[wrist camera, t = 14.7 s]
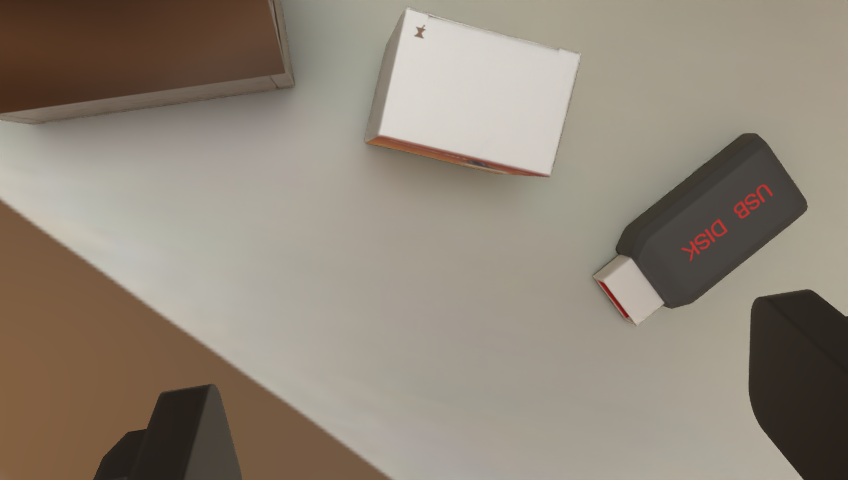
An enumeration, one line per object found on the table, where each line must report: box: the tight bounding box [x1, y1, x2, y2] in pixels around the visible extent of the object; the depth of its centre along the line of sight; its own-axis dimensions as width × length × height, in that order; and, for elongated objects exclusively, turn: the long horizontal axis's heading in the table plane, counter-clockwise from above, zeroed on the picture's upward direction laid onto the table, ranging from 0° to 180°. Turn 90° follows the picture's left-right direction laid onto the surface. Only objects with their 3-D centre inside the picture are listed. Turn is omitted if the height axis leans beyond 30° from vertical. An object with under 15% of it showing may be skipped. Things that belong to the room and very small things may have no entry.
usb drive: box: [593, 133, 808, 326], centre depth 45 cm, size 5×12×3 cm, turn 128°
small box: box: [364, 7, 581, 177], centre depth 39 cm, size 8×6×10 cm
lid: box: [0, 0, 286, 114], centre depth 25 cm, size 17×14×6 cm
